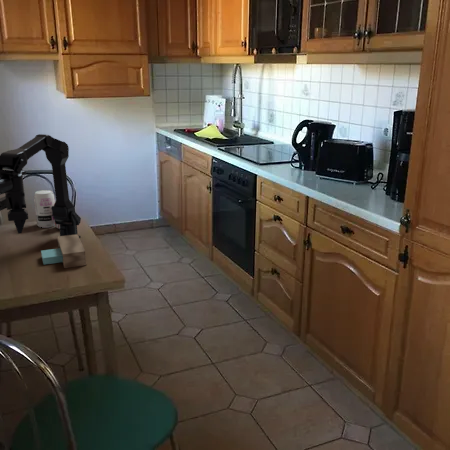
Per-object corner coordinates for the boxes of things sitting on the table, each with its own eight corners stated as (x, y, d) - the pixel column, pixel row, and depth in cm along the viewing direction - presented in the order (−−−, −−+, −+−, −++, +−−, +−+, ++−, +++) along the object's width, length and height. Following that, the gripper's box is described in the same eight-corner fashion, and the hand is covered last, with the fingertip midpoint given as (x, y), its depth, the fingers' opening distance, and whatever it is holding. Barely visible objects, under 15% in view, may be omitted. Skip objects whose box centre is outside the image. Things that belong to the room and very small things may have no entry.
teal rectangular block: (43, 264, 183) (42, 258, 182) (41, 257, 190) (41, 250, 189) (78, 260, 187) (77, 253, 186) (75, 252, 194) (74, 246, 193)
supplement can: (49, 221, 231) (45, 188, 227) (60, 224, 227) (57, 191, 222) (33, 225, 225) (29, 192, 221) (45, 229, 221) (41, 195, 216)
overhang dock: (64, 268, 180) (62, 254, 178) (58, 249, 197) (57, 236, 196) (86, 265, 183) (85, 251, 181) (78, 247, 200) (77, 234, 199)
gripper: (-11, 185, 181) (-6, 228, 185) (-12, 197, 164) (-6, 244, 169) (23, 183, 185) (27, 224, 190) (25, 195, 169) (30, 240, 173)
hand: (19, 233), depth 180 cm, fingers closed
